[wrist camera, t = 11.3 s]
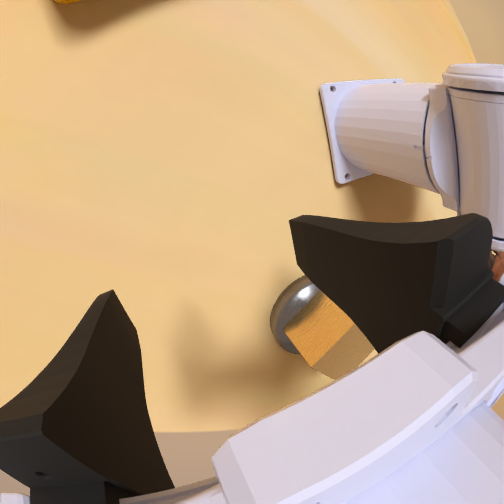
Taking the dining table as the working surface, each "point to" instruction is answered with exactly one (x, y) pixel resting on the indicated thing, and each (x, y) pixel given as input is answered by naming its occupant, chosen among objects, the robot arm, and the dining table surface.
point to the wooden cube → (327, 337)
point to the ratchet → (290, 309)
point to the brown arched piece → (496, 264)
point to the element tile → (66, 1)
